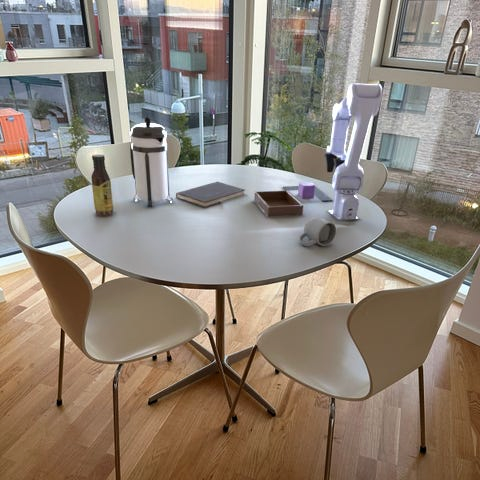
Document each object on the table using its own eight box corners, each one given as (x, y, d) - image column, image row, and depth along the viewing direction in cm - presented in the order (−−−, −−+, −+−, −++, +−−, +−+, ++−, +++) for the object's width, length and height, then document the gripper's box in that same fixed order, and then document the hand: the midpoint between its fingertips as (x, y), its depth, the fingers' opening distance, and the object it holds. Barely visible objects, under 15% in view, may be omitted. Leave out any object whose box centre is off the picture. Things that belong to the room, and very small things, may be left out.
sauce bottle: (109, 217, 160) (102, 158, 149) (92, 215, 161) (84, 157, 150) (117, 211, 165) (110, 154, 155) (100, 209, 166) (93, 152, 156)
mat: (332, 201, 184) (332, 199, 184) (299, 202, 181) (299, 201, 181) (313, 186, 201) (313, 185, 200) (282, 187, 198) (283, 186, 197)
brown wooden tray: (302, 216, 168) (303, 205, 166) (267, 218, 165) (268, 207, 163) (286, 200, 183) (287, 190, 181) (254, 202, 180) (254, 191, 178)
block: (313, 197, 186) (315, 185, 183) (302, 198, 184) (303, 185, 182) (309, 194, 190) (310, 181, 187) (297, 194, 188) (299, 182, 186)
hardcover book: (244, 195, 187) (245, 189, 186) (204, 208, 172) (204, 202, 171) (216, 186, 195) (216, 181, 194) (175, 198, 180) (175, 192, 179)
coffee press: (177, 196, 183) (174, 114, 167) (168, 209, 169) (163, 121, 153) (134, 193, 184) (127, 111, 168) (121, 206, 170) (112, 118, 154)
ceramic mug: (318, 235, 153) (321, 212, 149) (335, 243, 147) (338, 220, 143) (293, 241, 148) (295, 218, 144) (309, 250, 142) (312, 227, 138)
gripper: (321, 134, 181) (317, 170, 188) (337, 142, 169) (331, 179, 176) (338, 134, 182) (333, 169, 189) (354, 142, 170) (348, 179, 178)
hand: (333, 174), depth 183 cm, fingers open, 7 cm apart
